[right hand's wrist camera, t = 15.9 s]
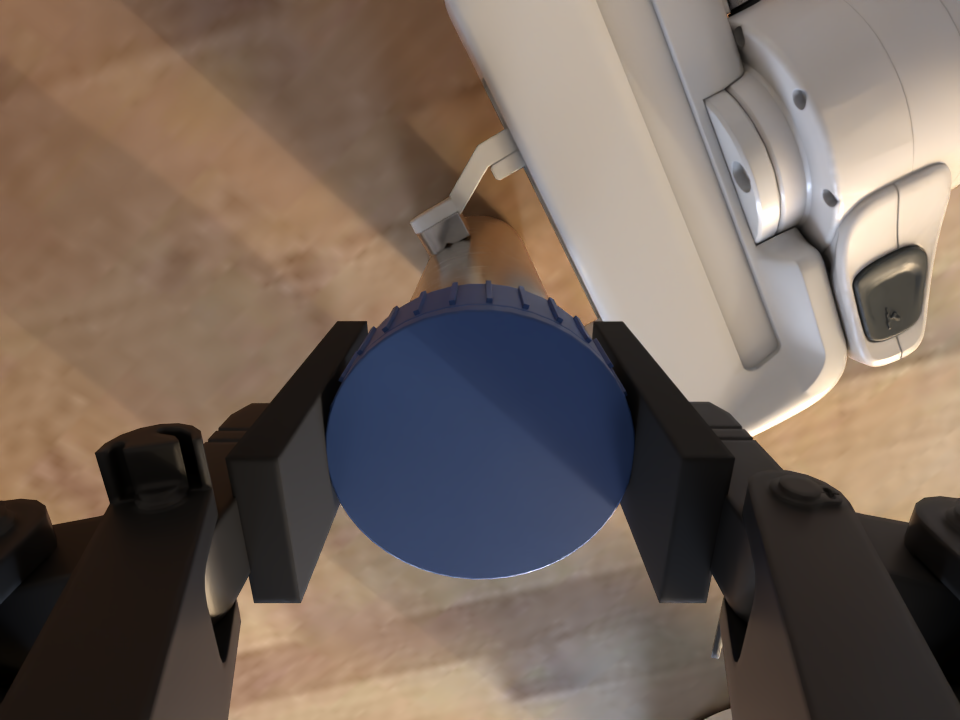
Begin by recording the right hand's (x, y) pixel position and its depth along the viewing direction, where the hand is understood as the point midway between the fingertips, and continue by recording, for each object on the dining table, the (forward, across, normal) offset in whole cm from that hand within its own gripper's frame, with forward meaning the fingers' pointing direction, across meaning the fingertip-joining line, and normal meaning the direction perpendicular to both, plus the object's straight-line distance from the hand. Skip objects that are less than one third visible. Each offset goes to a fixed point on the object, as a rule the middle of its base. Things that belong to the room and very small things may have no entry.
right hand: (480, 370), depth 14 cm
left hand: (+8, -1, 0) cm, 8 cm away
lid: (-4, 0, 0) cm, 4 cm away
